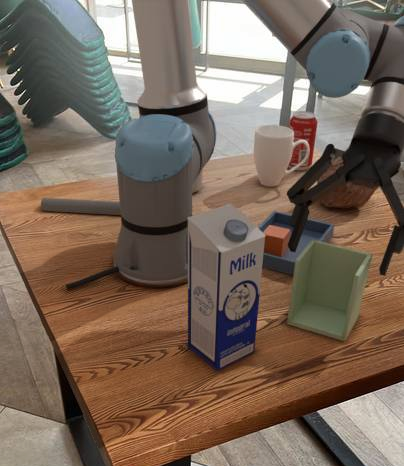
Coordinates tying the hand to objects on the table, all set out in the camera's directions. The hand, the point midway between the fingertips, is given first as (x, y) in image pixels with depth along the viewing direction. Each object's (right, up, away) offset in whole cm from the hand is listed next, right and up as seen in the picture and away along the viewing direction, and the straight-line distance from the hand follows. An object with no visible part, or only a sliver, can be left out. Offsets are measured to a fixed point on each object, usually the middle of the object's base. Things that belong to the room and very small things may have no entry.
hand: (335, 260), depth 83 cm
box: (-1, -8, +5) cm, 10 cm away
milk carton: (-17, -13, -1) cm, 21 cm away
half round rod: (-42, +16, +34) cm, 56 cm away
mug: (-2, +25, +46) cm, 52 cm away
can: (-23, +23, +43) cm, 54 cm away
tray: (-4, +6, +22) cm, 24 cm away
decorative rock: (+10, +18, +38) cm, 43 cm away
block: (-5, +8, +20) cm, 22 cm away
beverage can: (+4, +32, +54) cm, 63 cm away
